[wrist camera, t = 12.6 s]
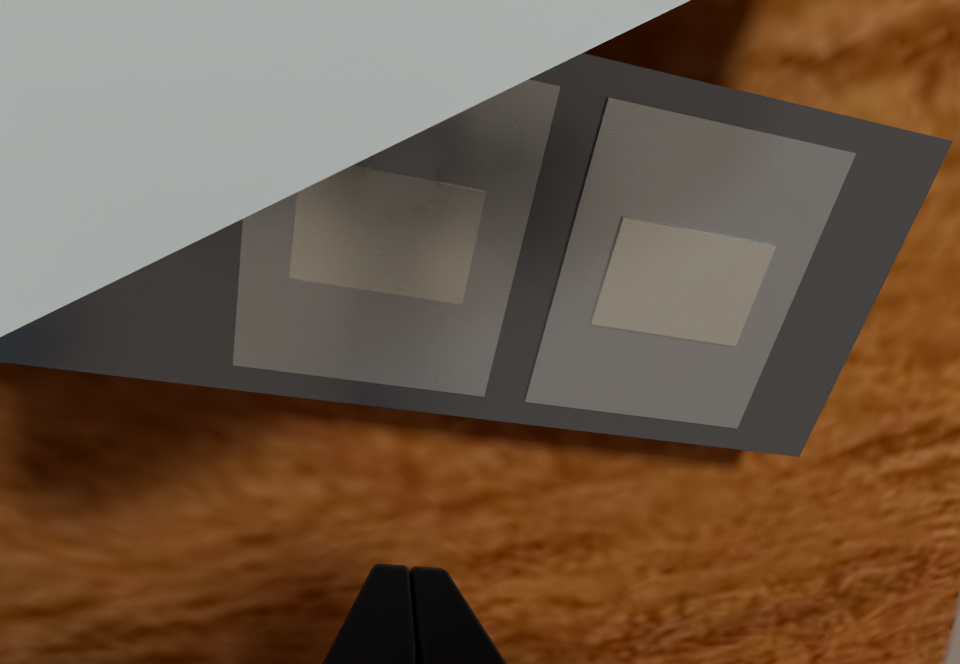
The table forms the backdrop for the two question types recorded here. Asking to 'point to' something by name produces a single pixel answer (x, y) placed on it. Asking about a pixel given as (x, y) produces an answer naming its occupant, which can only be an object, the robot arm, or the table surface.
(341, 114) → the upright grey slab
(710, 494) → the table surface
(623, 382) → the server tray
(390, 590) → the robot arm
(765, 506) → the table surface
